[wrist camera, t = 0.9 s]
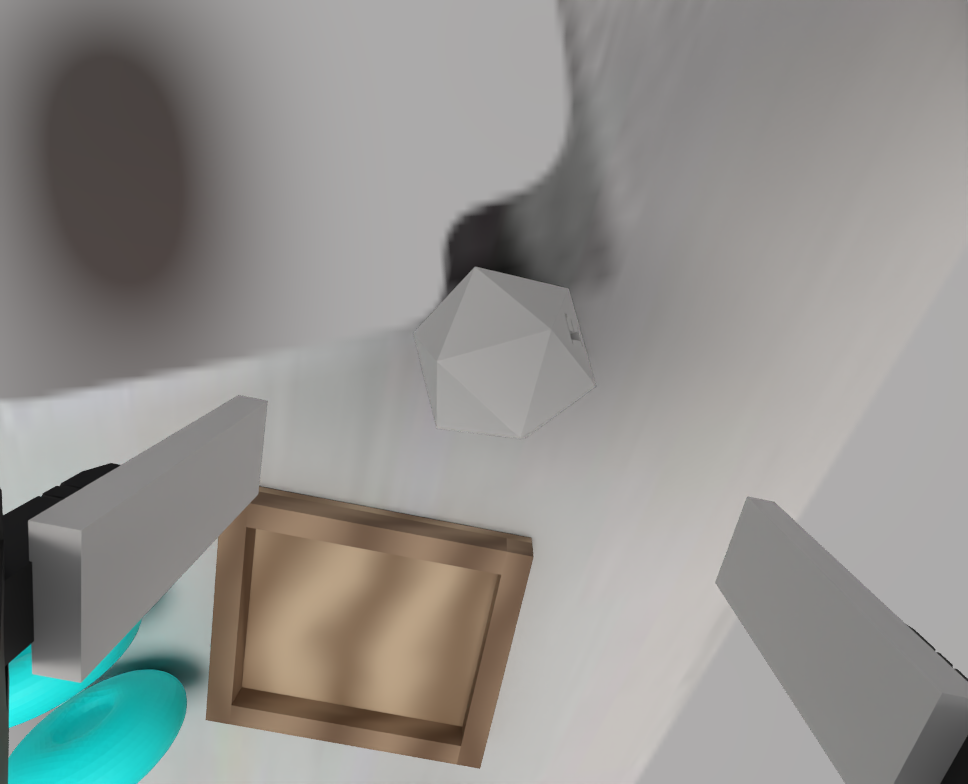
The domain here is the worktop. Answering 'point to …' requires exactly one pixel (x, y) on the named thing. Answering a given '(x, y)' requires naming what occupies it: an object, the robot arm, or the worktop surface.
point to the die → (502, 355)
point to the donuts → (93, 722)
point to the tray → (363, 626)
